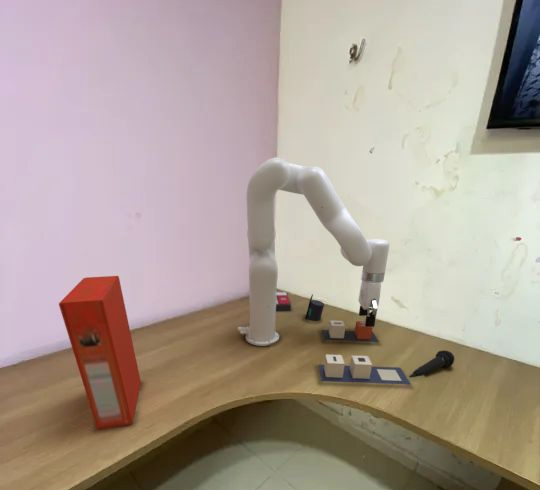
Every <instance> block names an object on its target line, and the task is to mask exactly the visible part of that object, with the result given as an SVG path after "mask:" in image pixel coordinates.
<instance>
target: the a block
mask: <svg viewBox="0 0 540 490" xmlns="http://www.w3.org/2000/svg"><path fill="white" fill-rule="evenodd" d="M328 324H329V325H328V330H329V335H330V338H344V333H345V330H346V324H345V322H344V320H331V319H330V320H329V323H328Z"/></svg>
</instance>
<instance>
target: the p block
mask: <svg viewBox="0 0 540 490" xmlns="http://www.w3.org/2000/svg"><path fill="white" fill-rule="evenodd" d="M349 366H350V372H351V375H352V377H353V378H361V379H369V378H370V373H371V368H372V367H373V363H372V361H371V359H370V357H369V355H351V357H350V364H349Z"/></svg>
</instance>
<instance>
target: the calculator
mask: <svg viewBox="0 0 540 490" xmlns="http://www.w3.org/2000/svg"><path fill="white" fill-rule="evenodd" d="M291 309H292V304H291V301H290V298H289V296H288V293H287V292H285V291H283V292H282V291H276V312H290V311H291Z"/></svg>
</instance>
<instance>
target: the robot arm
mask: <svg viewBox="0 0 540 490" xmlns="http://www.w3.org/2000/svg"><path fill="white" fill-rule="evenodd" d="M278 191H282V192H283V191H284V192H287V193H292V194H297V195H302V196H304V197H305V200H306V201H307V203H308V204H309V206H310V207H311V209H312V211H313V213H314V214H315V215H316V217H317V218H318V220H319V222H320V223H321V224H322V226H323V227H324V228H325V230H327V231H328V232H329V233H330V234H331V236H333V238H334V239H335V240H336V242H337V243H338V245H339V246H340V254H341V256H342V257H343V258H344V259H345V260H346V261H348V262H349V264H351V265H352V266H355V267H362V272H361V278H360V280H361V283H360V289H359V295H358V303H359V305H360V306H359V310H358V315H359V317H365V321H364V322H365V326H366V327H373V328H374V327H375V325H376V319H377V315H378V314H377V313H378V308H379V304H380V298H381V289H382V283H384V281H385V274H386V268H387V263H388V257H389V251H390V242H389V241H388V240H387V239H383V238H369V239H367V238H366V237H365V235H364V233H363V232H362V229H360V226H359V225H358V224H357V222H356V221H355V220H354V218H353V217H352V215H351V213H350V212H349V211H348V209H347V208H346V206H345V205H344V203H343V202H342V200H341V198H340V196H339V195H338V193H337V192H336V189H335V188H334V186H333V184H332V182H331V181H330V179H329V177H328V175H327V174H326V172H325V171H324V170H323V169H322V168H321V167H319V166H317V165H316V166H315V165H311V166H307V165H306V166H305V165H300V164H295V163H291V162H287V161H286V160H285V159H283V158H282V157H277V156H276V157H275V156H274V157H271V158H269V159H267V160H266V161H264V162H263V163H262V164H261V165H259V166H258V167H257V168H256V169H254V171H253V173H252V175H251V176H250V179H249V181H248V184H247V187H246V222H247V230H246V231H247V232H246V236H247V237H246V238H247V242H248V243H247V244H248V254H249V255H248V257H249V264H248V284H249V285H248V286H249V287H248V290H249V291H248V292H249V293H248V294H249V295H248V299H249V325H247V326H246V327H245V326H238V327H237V331H238V333H240V335H245V340H246V342H248V343H249V344H250V345H254V346H257V347H258V346H259V347H268V346H271V344H273V343H276V342H277V341H280V334H279V333H278V332H277V331H276V326H277V325H276V323H277V322H276V321H277V320H276V319H277V311H276V292H278V290H277V289H278V277H279V269H278V263H277V260H276V236H277V235H276V228H275V213H274V212H275V196H276V194H277V192H278Z"/></svg>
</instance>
